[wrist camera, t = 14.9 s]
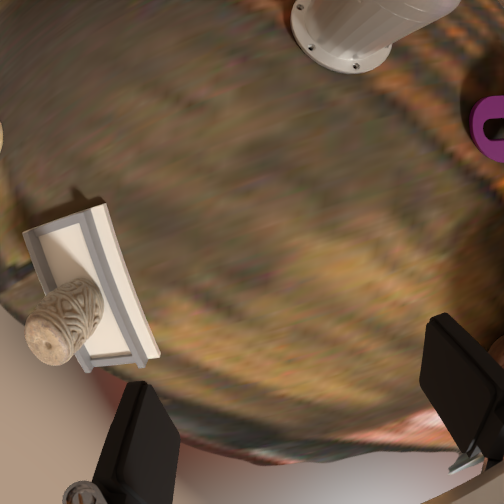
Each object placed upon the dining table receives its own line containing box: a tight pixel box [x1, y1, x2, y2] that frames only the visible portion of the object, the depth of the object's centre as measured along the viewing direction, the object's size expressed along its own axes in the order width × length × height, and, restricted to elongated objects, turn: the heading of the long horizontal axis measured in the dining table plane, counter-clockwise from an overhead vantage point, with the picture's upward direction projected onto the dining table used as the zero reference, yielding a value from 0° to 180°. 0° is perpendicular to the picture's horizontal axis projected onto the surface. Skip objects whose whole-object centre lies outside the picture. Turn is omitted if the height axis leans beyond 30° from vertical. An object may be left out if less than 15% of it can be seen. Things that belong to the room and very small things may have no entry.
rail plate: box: [22, 203, 161, 373], centre depth 37 cm, size 22×14×3 cm, turn 12°
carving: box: [24, 278, 104, 366], centre depth 32 cm, size 6×8×12 cm
